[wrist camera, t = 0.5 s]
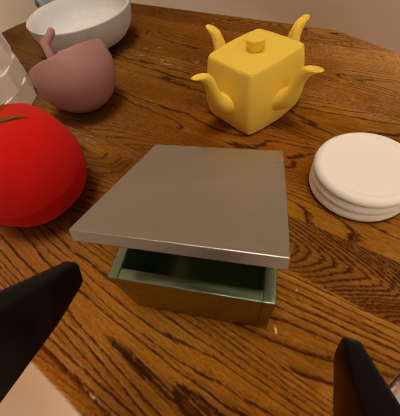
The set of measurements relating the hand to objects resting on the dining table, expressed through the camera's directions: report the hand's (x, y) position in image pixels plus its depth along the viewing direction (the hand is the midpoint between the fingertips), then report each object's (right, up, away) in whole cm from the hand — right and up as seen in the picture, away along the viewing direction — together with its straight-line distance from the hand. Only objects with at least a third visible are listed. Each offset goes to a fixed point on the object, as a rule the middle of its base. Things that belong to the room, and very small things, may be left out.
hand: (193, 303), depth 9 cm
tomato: (-19, +4, +25) cm, 32 cm away
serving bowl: (-23, +39, +50) cm, 67 cm away
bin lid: (0, +4, +10) cm, 11 cm away
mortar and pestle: (-18, +20, +36) cm, 45 cm away
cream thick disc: (+17, +6, +21) cm, 28 cm away
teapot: (+8, +18, +31) cm, 37 cm away
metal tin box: (+1, -1, +18) cm, 18 cm away
